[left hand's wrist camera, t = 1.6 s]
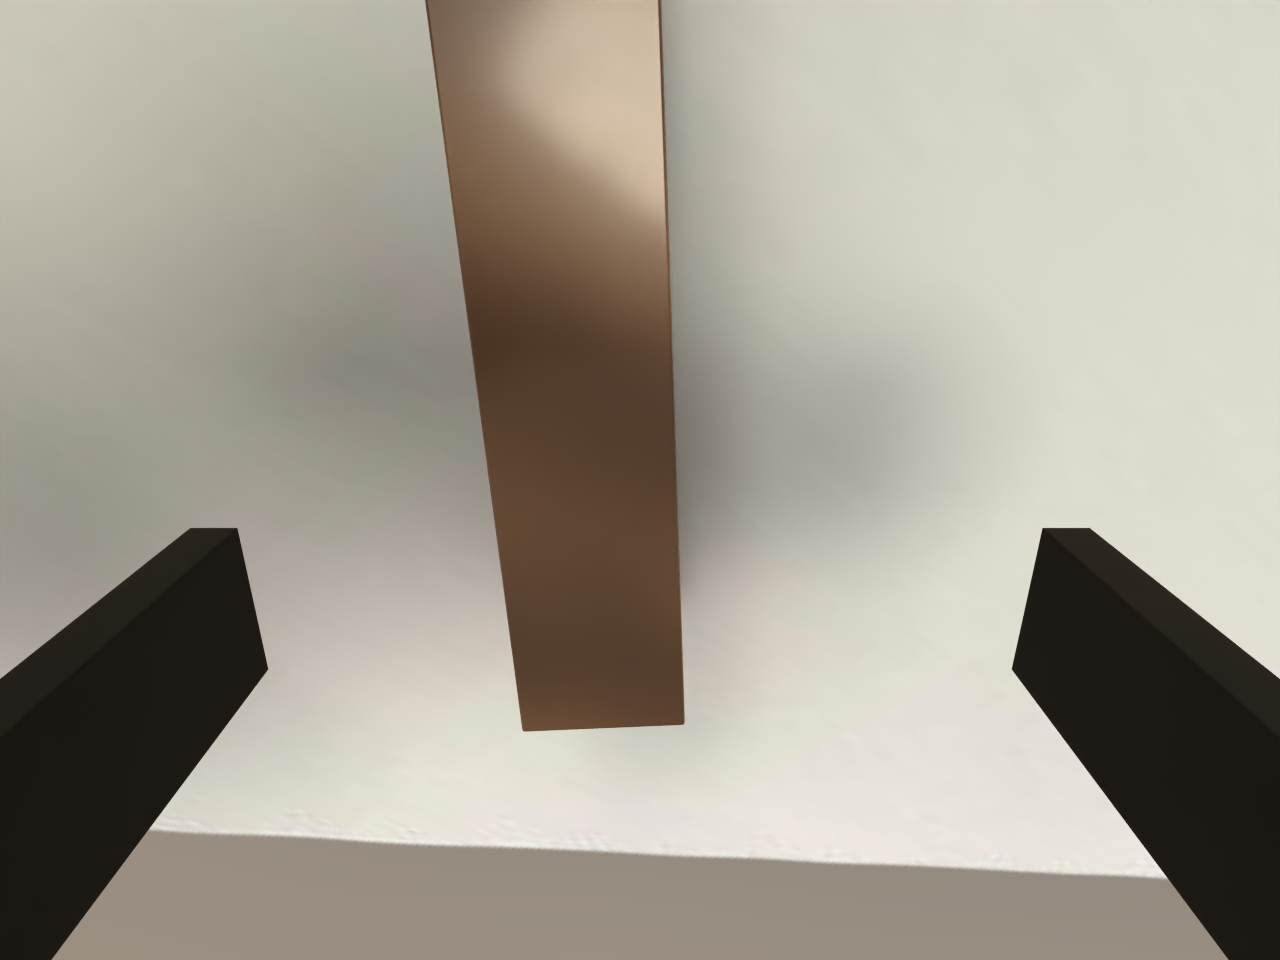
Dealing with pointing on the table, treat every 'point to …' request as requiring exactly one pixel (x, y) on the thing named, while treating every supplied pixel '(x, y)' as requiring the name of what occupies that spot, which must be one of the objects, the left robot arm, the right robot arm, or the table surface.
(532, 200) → the post
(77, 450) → the table surface
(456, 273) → the table surface
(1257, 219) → the table surface
